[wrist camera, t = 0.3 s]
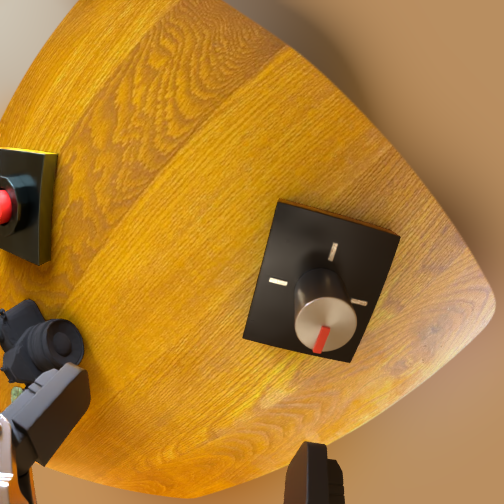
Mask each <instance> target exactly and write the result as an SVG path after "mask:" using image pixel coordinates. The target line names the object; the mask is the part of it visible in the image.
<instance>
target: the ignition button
mask: <svg viewBox="0 0 504 504" xmlns="http://www.w3.org/2000/svg"><path fill="white" fill-rule="evenodd" d="M11 216H12V204H11V200H10V196H9V194H8V193H7V191H5V190H0V224H3V223H6V222H8V221H9V220H10V218H11Z"/></svg>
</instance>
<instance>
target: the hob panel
mask: <svg viewBox="0 0 504 504" xmlns="http://www.w3.org/2000/svg"><path fill="white" fill-rule="evenodd" d="M399 241H400V236H399V235H397V234H396V233H395V232H393V231H392V230H389V229H386V228H383V227H380V226H376V225H373V224H370V223H367V222H363V221H360V220H357V219H353V218H350V217H346V216H343V215H340V214H336V213H333V212H329V211H325V210H322V209H318V208H315V207H311V206H307V205H304V204H300V203H296V202H292V201H289V200H285V199H281V198H279V199H278V202H277V206H276V210H275V214H274V218H273V222H272V226H271V229H270V233H269V237H268V241H267V245H266V249H265V253H264V257H263V261H262V265H261V268H260V272H259V276H258V280H257V284H256V288H255V292H254V295H253V299H252V303H251V307H250V311H249V314H248V318H247V322H246V326H245V330H244V333H243V339H247V340H251V341H255V342H259V343H262V344H266V345H270V346H274V347H279V348H283V349H287V350H291V351H296V352H300V353H304V354H309V355H313V356H318V357H323V358H328V359H332V360H337V361H342V362H348V363H350V362H351V360H352V358H353V356H354V354H355V352H356V350H357V348H358V345H359V343H360V341H361V339H362V337H363V334H364V332H365V330H366V328H367V325H368V323H369V321H370V318H371V316H372V313H373V311H374V309H375V306H376V304H377V301H378V299H379V296H380V294H381V291H382V288H383V286H384V283H385V281H386V278H387V275H388V272H389V270H390V267H391V264H392V261H393V258H394V256H395V253H396V250H397V247H398V244H399ZM319 268H323V269H328V270H331V271H333V272H335V273H336V274H337V275H339V277H340V278H341V279H342V281H343V283H344V286H345V288H346V291H347V293H348V296H349V298H350V301H351V303H352V306H353V308H354V311H355V314H356V317H357V326H356V330H355V332H354V334H353V336H352V338H351V339H350V340H349V341H348V342H347V343H346V344H345V345H343V346H342V347H340V348H338V349H335V350H332V351H324V352H323V351H322V352H321V354H318V353H314V352H313V350H312V349H310V348H308V347H306V346H305V345H304V344H302V343H301V342H300V340H299V339H298V337H297V335H296V332H295V287H296V284H297V282H298V280H299V279H300V278H301V277H302V276H303V275H304V274H305V273H307V272H308V271H311V270H313V269H319Z"/></svg>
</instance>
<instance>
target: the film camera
mask: <svg viewBox="0 0 504 504" xmlns="http://www.w3.org/2000/svg"><path fill="white" fill-rule="evenodd" d="M3 312H4V313H3ZM0 314H1V315H0V345H1V347H2V349H3V351H4V352H5V353H4V357H3V367H1V369H0V370H1V371H4V373H5V374H6V376H7V378H8V379H9V381H8V382H9V383H14V382H17V383H24V384H25V385H26V387H25V389H23V390H22V392H24V391H25V390H26V389H28V387H29V386H30V385H31V384H32V383H34V381H35V380H36V379H37V378H38V377H39V376H40V375H41V374H42V373H44V372H47V371H49V370H51V369H54V368H55V369H56V370H58V371H59V370H60V369H61V368H62V367H63V366H64V365H65V364H66V363H68V362H71V363H73V364H75V365H78V364H79V363H80V362H81V360H82V358H83V355H84V344H83V340H82V337H81V335H80V333H79V331H78V329H77V328H76V327H75V325H74V324H72V323H71V322H70V321H68V320H64V319H51V320H48V321H46V322H45V320H44V318H43V316H42V314H41V313H40V311H39V309H38V307H37V305H36V303H35V302H34V301H32V300H30V299H28V300H24V301H22V302H21V303H19V304H18V305H16V306H15V307H13V308H11V309H10V310H8V311H6V312H5V310H4V309H0Z"/></svg>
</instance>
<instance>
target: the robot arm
mask: <svg viewBox="0 0 504 504" xmlns="http://www.w3.org/2000/svg"><path fill="white" fill-rule="evenodd" d="M90 400H91V396H90V388H89V379H88V372H87V371H86V370H85V369H83V368H81V367H79V366H77V365H75V364H73V363H71V362H68V363H66V364H65V365H64V366H63V367H62V368H61V369H60V370H59V371H58V370H56V369H55V368H54V369H51V370H49V371H47V372H44V373H42V374H41V375H40V376H39V377H38V378H37V379H36V380H35V381H34V383H32V384H31V385H30V386H29V387H28V389H26V390H25V391H24V392H23V393H21V394H20V395H19V396H18V397H17V398H16V399H15V400H14V401H13V402H12V403H11V404H10V405H9V406H8V407H7V408H6V409H5V410H4V411H3V412H2V413H0V504H37V501H36V495H35V488H34V481H33V473H32V467H31V466H32V465H33V463H34V462H35V461H36V462H38V463H39V464H41V465H42V466H44V467H45V465H46V464H47V463H48V461H49V460H50V459H51V457H52V456H53V454H54V453H55V452H56V450H57V449H58V448H59V446H60V445H61V444H62V442H63V441H64V440H65V438H66V437H67V436H68V435H69V433H70V432H71V431H72V429H73V428H74V427H75V425H76V424H77V423H78V421H79V420H80V419H81V417H82V416H83V415H84V414H85V412H86V411H87V409H88V407H89V404H90ZM284 504H345V499H344V486H343V473H342V470H341V468H340V466H339V464H338V463H337V461H336V460H332V459H327V447H326V445H325V444H319V443H312V442H306V441H305V442H303V444H302V445H301V447H300V448H299V450H298V451H297V453H296V455H295V456H294V458H293V459H292V461H291V462H290V464H289V466H288V469H287V473H286V481H285V493H284Z"/></svg>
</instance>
